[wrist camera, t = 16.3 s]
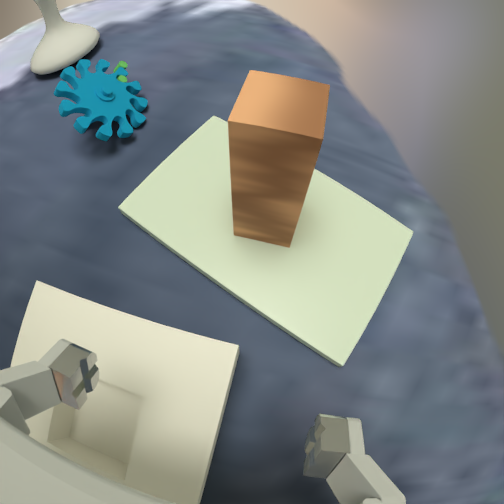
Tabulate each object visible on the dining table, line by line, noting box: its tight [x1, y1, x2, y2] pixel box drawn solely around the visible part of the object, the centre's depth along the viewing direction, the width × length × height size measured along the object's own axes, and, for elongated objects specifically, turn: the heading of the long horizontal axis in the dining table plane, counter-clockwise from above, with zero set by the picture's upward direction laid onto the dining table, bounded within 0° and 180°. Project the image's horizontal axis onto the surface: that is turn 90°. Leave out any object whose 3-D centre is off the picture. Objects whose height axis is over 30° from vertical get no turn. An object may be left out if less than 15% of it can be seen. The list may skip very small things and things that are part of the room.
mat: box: [118, 116, 413, 367], centre depth 24 cm, size 20×12×1 cm, turn 55°
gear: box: [54, 59, 147, 141], centre depth 27 cm, size 11×6×10 cm
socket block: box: [11, 281, 239, 504], centre depth 17 cm, size 14×14×4 cm
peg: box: [228, 70, 330, 248], centre depth 18 cm, size 4×4×11 cm
